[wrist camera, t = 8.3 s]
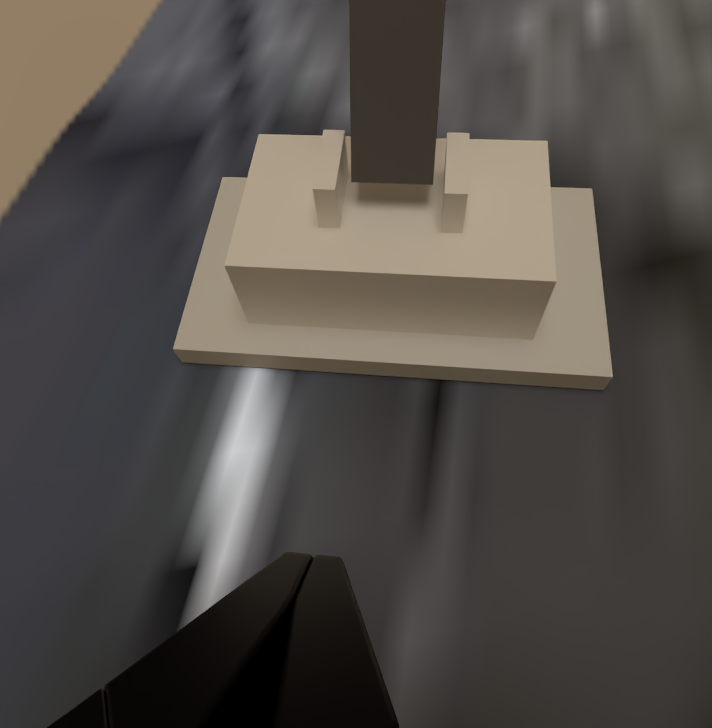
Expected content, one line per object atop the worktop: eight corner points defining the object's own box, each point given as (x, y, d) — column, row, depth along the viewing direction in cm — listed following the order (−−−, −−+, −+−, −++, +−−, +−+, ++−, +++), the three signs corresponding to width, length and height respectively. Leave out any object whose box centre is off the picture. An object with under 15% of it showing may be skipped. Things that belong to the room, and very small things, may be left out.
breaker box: (603, 390, 24) (677, 287, 18) (182, 362, 26) (112, 260, 20) (584, 206, 29) (638, 72, 22) (228, 194, 31) (184, 67, 24)
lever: (444, 187, 21) (475, -214, 15) (339, 184, 21) (330, -208, 16) (444, 171, 23) (472, -195, 17) (346, 169, 23) (341, -191, 17)
